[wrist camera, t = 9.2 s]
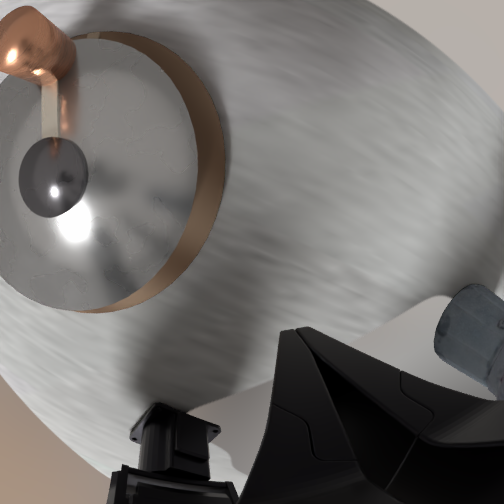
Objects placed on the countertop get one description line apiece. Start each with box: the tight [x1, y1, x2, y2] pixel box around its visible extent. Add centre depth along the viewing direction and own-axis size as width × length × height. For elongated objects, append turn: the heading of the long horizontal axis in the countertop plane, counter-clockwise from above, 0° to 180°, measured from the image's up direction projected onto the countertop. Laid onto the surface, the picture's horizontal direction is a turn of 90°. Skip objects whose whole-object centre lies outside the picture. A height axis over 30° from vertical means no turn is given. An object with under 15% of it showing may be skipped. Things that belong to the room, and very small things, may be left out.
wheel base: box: [70, 31, 225, 313], centre depth 15 cm, size 18×18×1 cm
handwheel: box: [0, 6, 198, 311], centre depth 11 cm, size 16×15×7 cm
